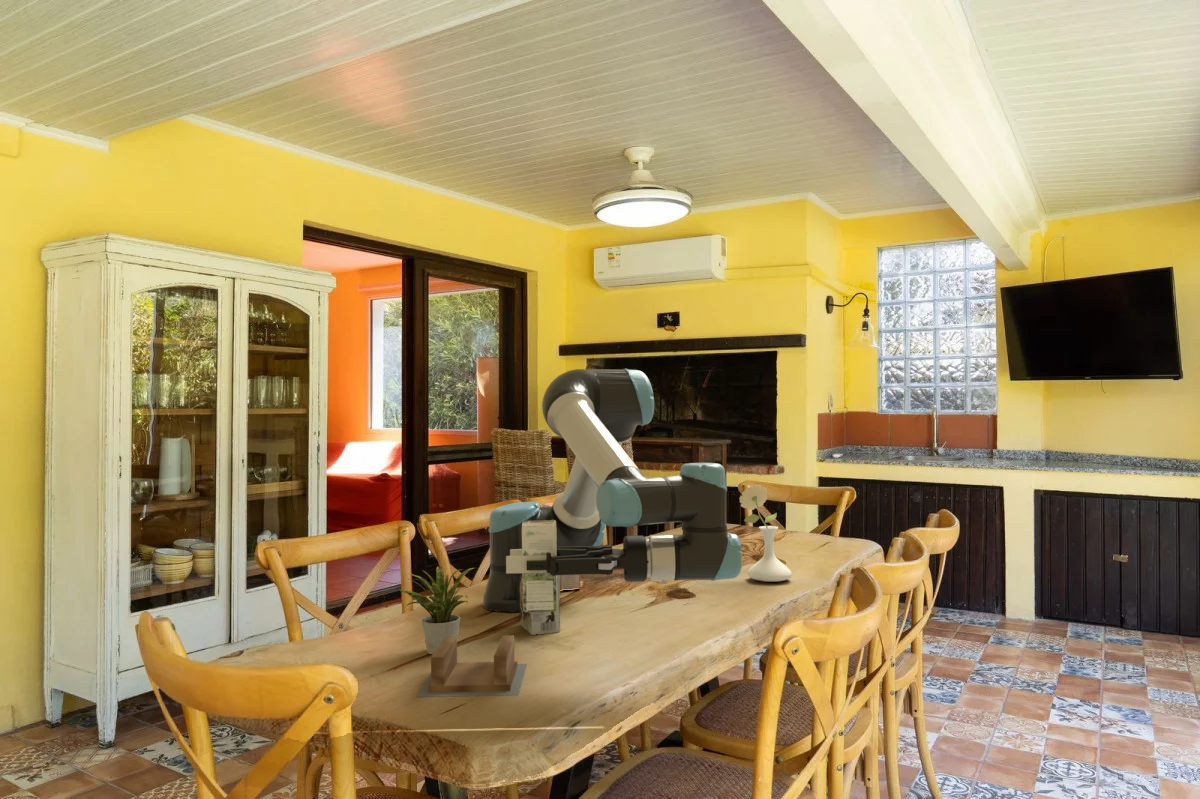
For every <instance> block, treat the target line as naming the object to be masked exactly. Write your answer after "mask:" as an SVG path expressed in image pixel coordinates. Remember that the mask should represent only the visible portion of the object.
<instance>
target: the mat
mask: <svg viewBox="0 0 1200 799" xmlns="http://www.w3.org/2000/svg"><path fill="white" fill-rule="evenodd" d="M527 665H528V663H517V670H516V673H515V677H514V680H513V683H512V686H511V689H510V691H474V692H428V686H429V684H430V682H431V673H430V675H429V676H428V678H427V679H426V681H425V682H424V684H422V685H423V686H422V687H421V688H420V690H419V692H418V693H417V695H416V696H415V698H441V697H443V698H444V697H445V698H446V697H448V698H449V697H496V696H497V697H498V696H499V697H500V696H501V697H502V696H504V697H506V696H519V693H520V690H521V687H522V683H523V680H524V675H525V672H526V669H527Z"/></svg>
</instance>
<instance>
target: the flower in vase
mask: <svg viewBox="0 0 1200 799" xmlns="http://www.w3.org/2000/svg"><path fill="white" fill-rule="evenodd" d="M767 491H768V490H767V487H763V486H762V485H761V484H757V483H756V484H754V485H752V484H751V485H749V487H745V489H744V490H743V491H742V492H741V495H740V496H739V503H740V506H741V507H742V508H743V509H747V510H753V511H754V510H755V509H757V513H758V515H757V514H754V513H753V514H750V515H748V516H747V517H746V518H745V519H744V520H743V521H744V522H747V523H750V524H751V523H752V524H755V523H756V522H757V521H759V519H760V520H761V521H762V523H763V524H764V525H763V526H762V525H761V526H758V529H759V530H760V532H761V534H762V536H763V542H764V554H763V556H762V557H761V558H760V559H759V560H758V561H757V562H756V563H754V564H753V565H752V566H751V567H750V568H749V569H748V571H747V573H746V574H747V576H748V577H749V578H750V579H753V580H755V581H759V582H767V583H772V582H773V583H774V582H775V583H777V582H782V581H787V580H789V579H791V578H792V576H793V572H792V571H791V569H790V568H789V567H787V565H786V564H784V563H783V562H781V561H780V560H779V559H778V558H777V557H776V555H775V551H774V542H775V535H776V533H777V531H778V529H779V527H778V526H775V525H767V524H766V523H770V522H774V520H776V518H777V516H778V515H777V514H778V513H777V512H775V513H774V514H772V515H768V516H767V517H765V520H764V518H763V517H762V516H761V514H760V510H759V507H763V506H764V503H766V501H767V500H768V492H767Z"/></svg>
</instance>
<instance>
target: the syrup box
mask: <svg viewBox="0 0 1200 799" xmlns="http://www.w3.org/2000/svg"><path fill="white" fill-rule="evenodd" d="M547 552H549V553H551V556H552V557H554V556H557V533H556V520H542V521H523V523H522V556H533V555H546V553H547ZM522 577H523V612H555V611H557V604H558V597H557V575H555V576H552V575H550V574H549V573H547V572H546V573H522Z"/></svg>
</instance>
